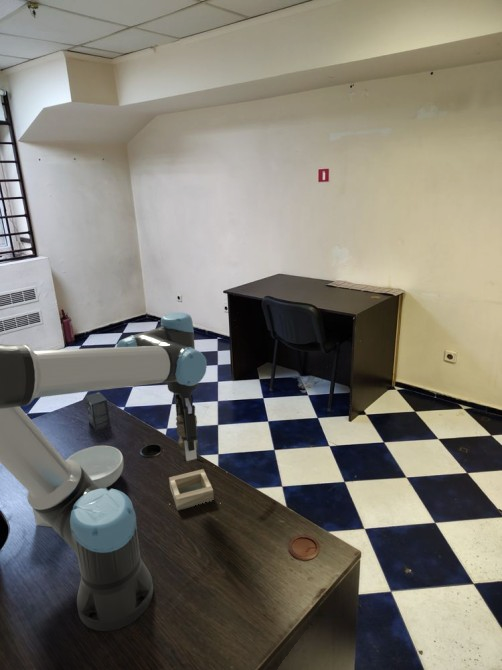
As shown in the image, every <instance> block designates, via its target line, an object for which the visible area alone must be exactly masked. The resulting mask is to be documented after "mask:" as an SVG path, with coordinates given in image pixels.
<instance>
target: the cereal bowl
mask: <svg viewBox="0 0 502 670" xmlns="http://www.w3.org/2000/svg"><path fill="white" fill-rule="evenodd" d="M66 460H73V461H75V462H77V463H78V464H79V465H80V466H81V468H82V469H83V470H84V471H85V472H86V474H87V475H88V476H89V477H90V478H91V480H92V481H93V482H94V483H95V484H96V485H97V486H99V487H100V488H101V489H102V488H108V487H110V486H112V485H113V484H115V482H117V481H118V479H119V478H120V476H121V475H122V472H123V470H124V456H123V453H122V452H121V451H120V449H118V448H117V447H113V446H110V445H94V446H89V447H87V448H83V449H81V450H78V451H77V452H75V453H73V454H71V455H70V456H69V457H68V458H67V459H66Z"/></svg>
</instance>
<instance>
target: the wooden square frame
mask: <svg viewBox="0 0 502 670" xmlns="http://www.w3.org/2000/svg"><path fill="white" fill-rule="evenodd" d="M168 481H169V483H168V484H169V488H170V492H171V495H172V497H173V501H174V505H175V507H176V510H177V511H181V510H185V509H188V508H191V507H192V508H193V507H195V505H196V506H199V505H203V504H206V503H205V502H207V503H210V502H213V501H212V500H214V501H215V498H214V489H213V487H212V484H211V482H210V480H209V478H208V476H207V474H206V472H205V469H204V468H202V469H198V470H194V471H190V472H186V473H181V474H179V475H173V476H170V477H168ZM209 501H210V502H209ZM202 503H203V504H202ZM198 504H199V505H198Z"/></svg>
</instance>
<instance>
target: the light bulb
mask: <svg viewBox="0 0 502 670" xmlns="http://www.w3.org/2000/svg"><path fill="white" fill-rule="evenodd" d="M197 419H198V418H197V415H196V414H195V421H196V432H197V433H198V428H197V427H198V420H197ZM175 421H176V423H175V425H176V431H177V433H176V434H177V435H178V436H179V438H178V440H177V447H178V451H179V453H180V454H181V455H182V457H183V461H184V462H185V463H187V464H192V463H193V462H194V461H195V459H193V460H189V461H187V460H186V453H185V442H184V441H183V439H182V438H185V433H184V426H183V419H182V415H178V416H177V415H176V418H175ZM180 437H181V438H180ZM198 442H199V441H198V439H197V440H195V443H196V452H197V450H198V447H199V446H198Z"/></svg>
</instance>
